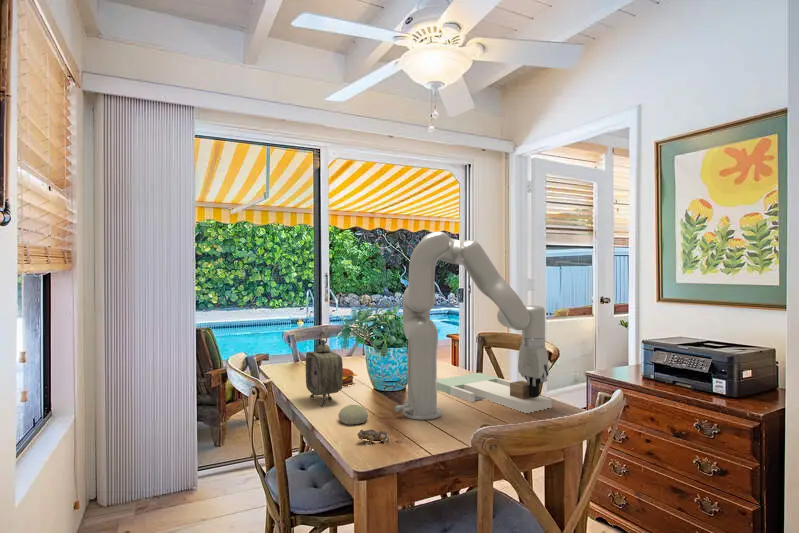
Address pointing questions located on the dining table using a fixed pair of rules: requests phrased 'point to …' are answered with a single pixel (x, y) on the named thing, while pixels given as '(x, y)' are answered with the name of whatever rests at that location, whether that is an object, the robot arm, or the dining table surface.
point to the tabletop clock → (323, 371)
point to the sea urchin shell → (353, 414)
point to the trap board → (490, 392)
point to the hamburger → (347, 377)
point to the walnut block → (519, 390)
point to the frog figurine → (374, 436)
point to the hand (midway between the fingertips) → (534, 396)
